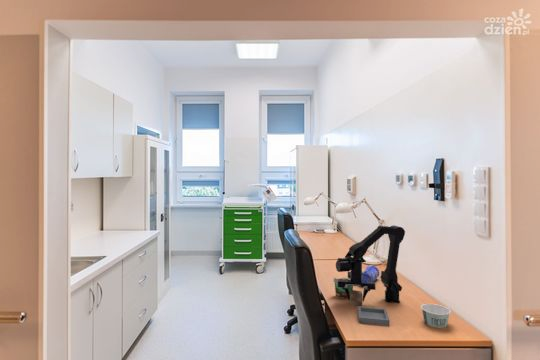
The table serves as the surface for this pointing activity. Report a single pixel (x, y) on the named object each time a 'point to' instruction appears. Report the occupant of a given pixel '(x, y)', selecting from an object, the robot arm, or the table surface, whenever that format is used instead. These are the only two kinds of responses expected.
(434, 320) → the food container
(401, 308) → the table surface
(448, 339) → the table surface
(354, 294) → the cube
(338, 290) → the food container
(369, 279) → the pencil case
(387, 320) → the tray
